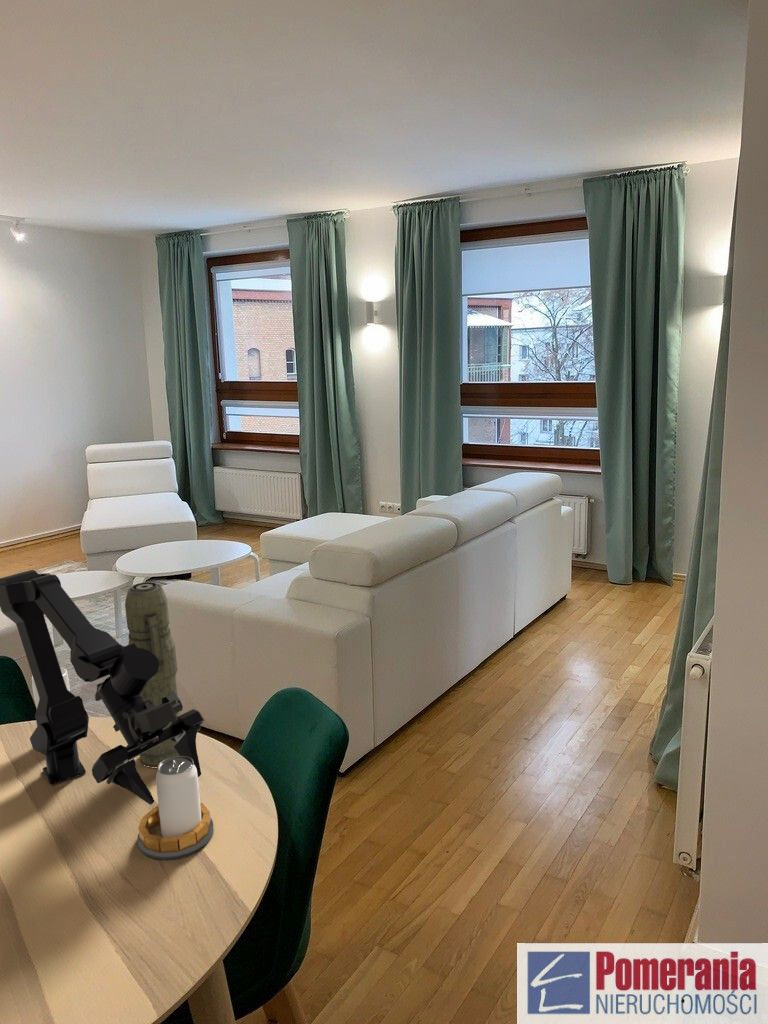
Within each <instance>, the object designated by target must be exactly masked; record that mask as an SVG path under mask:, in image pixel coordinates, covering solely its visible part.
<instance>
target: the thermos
mask: <svg viewBox="0 0 768 1024" xmlns="http://www.w3.org/2000/svg"><path fill="white" fill-rule="evenodd" d="M124 609H125V616H126V617H125V618H126V626H127V630H128V644H127V645H129V644H132V643H135V645H136V647H137V648H142V649H146V650H148V651H150V652H151V653H152V654H154V655H155V656H156V657H157V659H158V662H159V669H158V672H157V673H156V675H155V676H154V677H153V679H152V680H151V681H150V683H149V684H148V685H147V687H146V688H145V689H144V691H143V692H141V694H142V696H143V697H144V699H145V701H148V700H150V701H152V702H153V704H154V705H155V706H158V705H160V704H162V698H163V697H165V696H167V695H169V694H172V693H175V694H176V695H177V696H178V688H177V687H178V686H177V677H176V675H177V672H178V661H177V653H176V642H175V641H174V638H173V636H172V635H171V628H169V627H170V626H169V625H170V616H169V606H168V598H167V595H166V593H165V591H164V588H163V586H162V585H161V584H160V583H156V582H152V581H150V582H149V581H145V582H139V583H136V584H133V585H132V586H130V587H129V588H128V589H127V592H126V597H125V602H124ZM178 697H179V696H178ZM180 715H181V714H180V712H178V713H176V716H177V717H178V716H180ZM172 723H173V722H170V723H168V725H167V726H166V727H164V728H163V730H165V729H167V728H168V727H169V726H170V725H171V724H172ZM157 740H158V739H157ZM155 741H156V740H155ZM153 742H154V741H153ZM176 744H177V742H175V741H172V740H171V739H170V740H168V741H166V742H164V743H162V744H160V745H158V746H156V747H155V748H153V749H151V750H149V751H147V752H145V753H143V754H141V755H139V762H140V764H141V763H142V764H143V765H145V766H149V767H158V765H159V764H160V763H161V762H162V761H163V760H165V759H167V758H170V757H174V756H180V755H179V753H178V752H177V751H176V749H175V748H174V746H175V745H176ZM145 746H146V745H145ZM143 747H144V746H143ZM141 748H142V747H141ZM141 748H140V749H141ZM142 764H141V765H142ZM143 765H142V766H143ZM145 766H144V767H145ZM149 767H148V768H149Z"/></svg>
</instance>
